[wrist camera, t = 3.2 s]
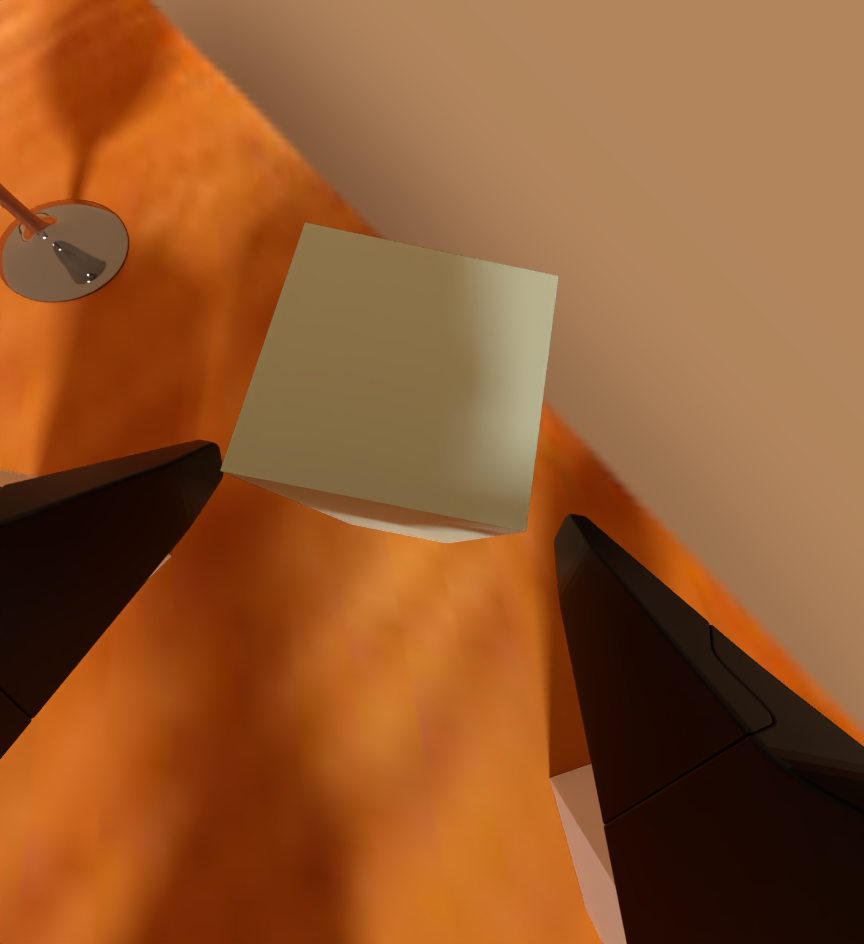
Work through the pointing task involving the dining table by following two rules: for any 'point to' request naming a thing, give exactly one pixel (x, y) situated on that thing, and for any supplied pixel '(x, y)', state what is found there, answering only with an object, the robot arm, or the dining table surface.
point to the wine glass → (60, 248)
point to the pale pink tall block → (589, 850)
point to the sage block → (399, 388)
